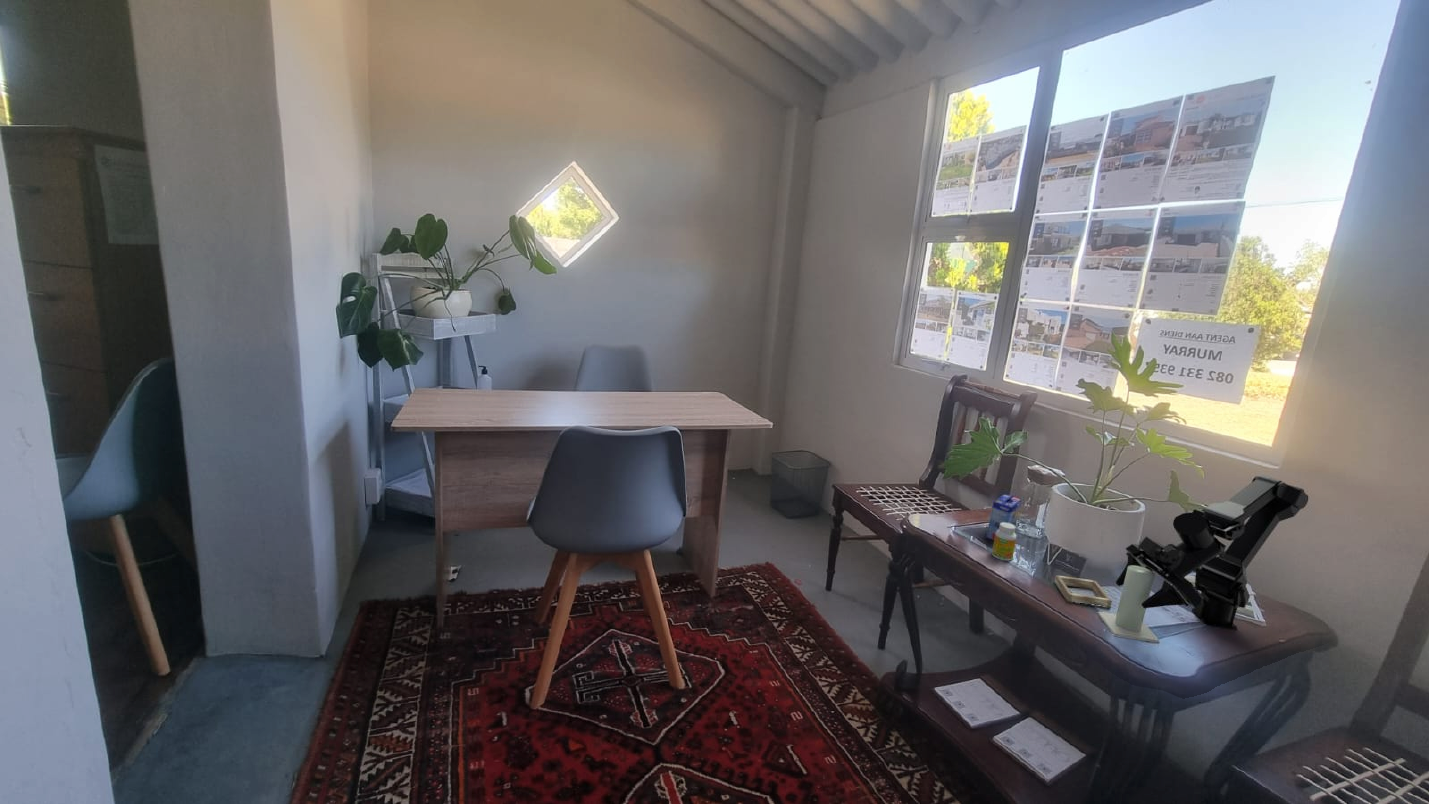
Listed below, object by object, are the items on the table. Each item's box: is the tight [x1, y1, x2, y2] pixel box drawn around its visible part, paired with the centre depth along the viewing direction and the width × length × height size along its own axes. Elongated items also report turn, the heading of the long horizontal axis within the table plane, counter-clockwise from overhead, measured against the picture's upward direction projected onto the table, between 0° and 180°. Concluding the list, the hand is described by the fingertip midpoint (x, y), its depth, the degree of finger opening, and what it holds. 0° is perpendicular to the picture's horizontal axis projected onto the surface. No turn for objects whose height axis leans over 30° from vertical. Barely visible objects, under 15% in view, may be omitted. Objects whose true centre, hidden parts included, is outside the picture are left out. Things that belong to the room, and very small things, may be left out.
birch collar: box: [1053, 575, 1113, 609], centre depth 148 cm, size 10×10×2 cm
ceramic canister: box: [1115, 565, 1156, 632], centre depth 133 cm, size 5×5×14 cm
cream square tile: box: [1097, 611, 1160, 644], centre depth 135 cm, size 9×9×1 cm
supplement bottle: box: [991, 522, 1017, 562], centre depth 165 cm, size 5×5×10 cm
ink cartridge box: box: [985, 492, 1022, 541], centre depth 178 cm, size 10×6×14 cm, turn 136°
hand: (1129, 595), depth 133 cm, fingers open, 9 cm apart
